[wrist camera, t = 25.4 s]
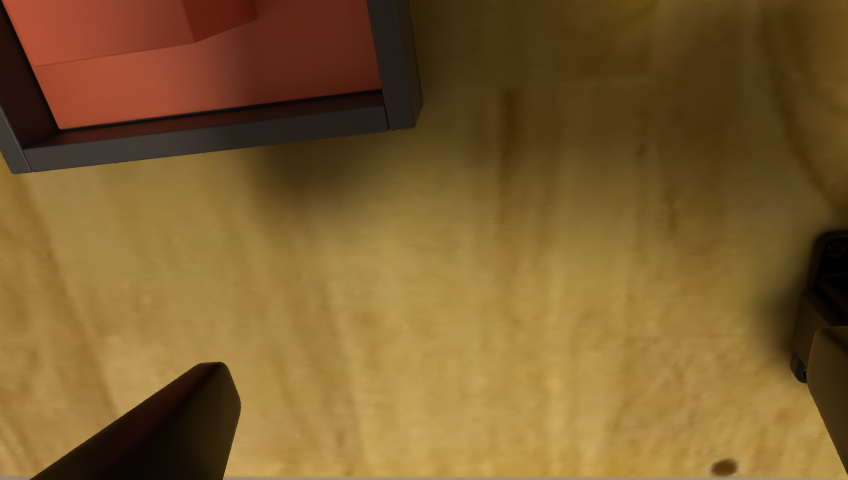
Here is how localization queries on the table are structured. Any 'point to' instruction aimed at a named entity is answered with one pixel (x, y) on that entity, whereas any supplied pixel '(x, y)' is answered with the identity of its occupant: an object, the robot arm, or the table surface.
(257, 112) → the tray
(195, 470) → the robot arm
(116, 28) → the terracotta block
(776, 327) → the table surface
